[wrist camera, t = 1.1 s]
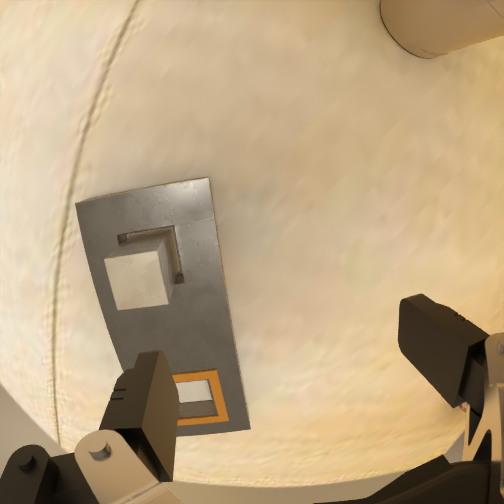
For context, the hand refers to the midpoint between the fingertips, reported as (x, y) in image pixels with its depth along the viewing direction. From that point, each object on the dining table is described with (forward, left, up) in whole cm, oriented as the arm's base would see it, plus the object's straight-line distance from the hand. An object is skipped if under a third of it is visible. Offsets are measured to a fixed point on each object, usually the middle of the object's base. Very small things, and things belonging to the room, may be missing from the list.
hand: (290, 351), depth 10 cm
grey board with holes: (+9, -8, -21) cm, 24 cm away
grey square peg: (+1, -8, -21) cm, 22 cm away
